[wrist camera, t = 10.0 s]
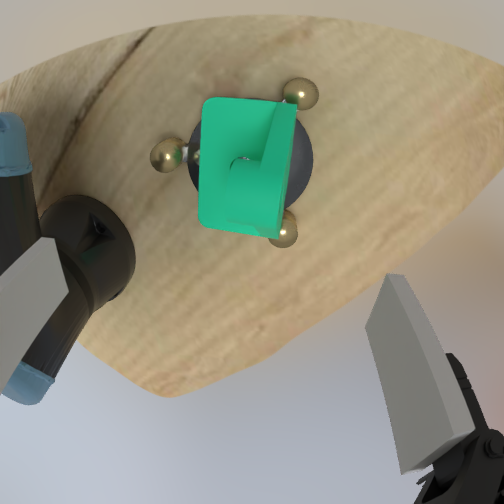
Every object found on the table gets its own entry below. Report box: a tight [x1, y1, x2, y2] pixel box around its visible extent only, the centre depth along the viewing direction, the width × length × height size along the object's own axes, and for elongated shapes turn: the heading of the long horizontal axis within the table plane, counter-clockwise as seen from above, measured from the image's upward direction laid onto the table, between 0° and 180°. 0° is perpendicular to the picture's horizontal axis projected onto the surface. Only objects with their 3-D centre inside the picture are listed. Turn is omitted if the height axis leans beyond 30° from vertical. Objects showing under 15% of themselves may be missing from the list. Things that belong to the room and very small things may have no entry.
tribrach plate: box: [150, 78, 319, 248], centre depth 28 cm, size 16×17×3 cm
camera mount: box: [198, 97, 297, 239], centre depth 23 cm, size 12×8×10 cm, turn 175°
